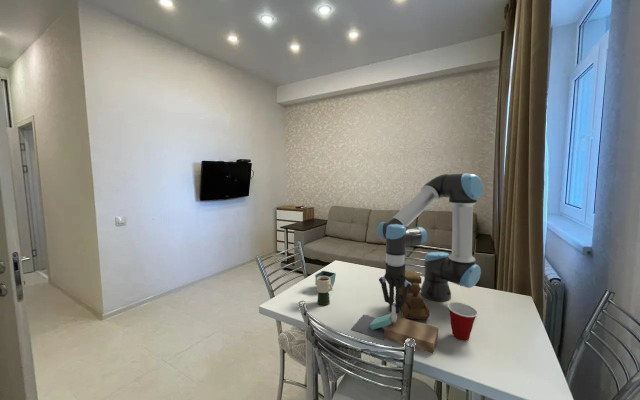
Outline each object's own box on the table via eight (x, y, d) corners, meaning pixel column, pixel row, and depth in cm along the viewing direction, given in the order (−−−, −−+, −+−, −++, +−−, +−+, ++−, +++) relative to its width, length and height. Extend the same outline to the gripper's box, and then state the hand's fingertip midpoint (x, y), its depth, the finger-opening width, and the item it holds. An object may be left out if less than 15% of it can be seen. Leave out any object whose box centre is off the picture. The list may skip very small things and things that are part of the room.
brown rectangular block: (438, 337, 107) (438, 327, 107) (433, 354, 97) (433, 343, 97) (393, 324, 116) (393, 315, 116) (384, 338, 106) (384, 329, 106)
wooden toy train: (393, 302, 137) (393, 270, 136) (415, 302, 137) (416, 270, 136) (405, 323, 117) (406, 286, 116) (431, 323, 117) (432, 286, 116)
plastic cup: (475, 348, 100) (477, 317, 99) (443, 339, 106) (444, 309, 105) (478, 334, 109) (479, 306, 108) (448, 326, 115) (449, 299, 114)
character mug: (336, 304, 135) (336, 279, 134) (327, 309, 130) (327, 283, 129) (320, 297, 143) (320, 273, 142) (310, 302, 137) (310, 277, 136)
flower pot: (336, 288, 155) (336, 273, 154) (328, 293, 147) (328, 278, 146) (323, 285, 159) (323, 270, 159) (314, 290, 152) (314, 274, 151)
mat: (393, 323, 117) (393, 322, 117) (383, 340, 105) (383, 339, 105) (363, 315, 125) (363, 314, 125) (350, 329, 113) (350, 329, 113)
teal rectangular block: (394, 317, 113) (392, 313, 113) (390, 324, 107) (388, 319, 108) (376, 323, 117) (374, 318, 117) (371, 329, 112) (369, 325, 112)
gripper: (414, 263, 108) (412, 320, 110) (382, 258, 114) (381, 312, 116) (409, 269, 101) (408, 329, 103) (376, 263, 108) (375, 320, 110)
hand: (394, 320), depth 110 cm, fingers closed
